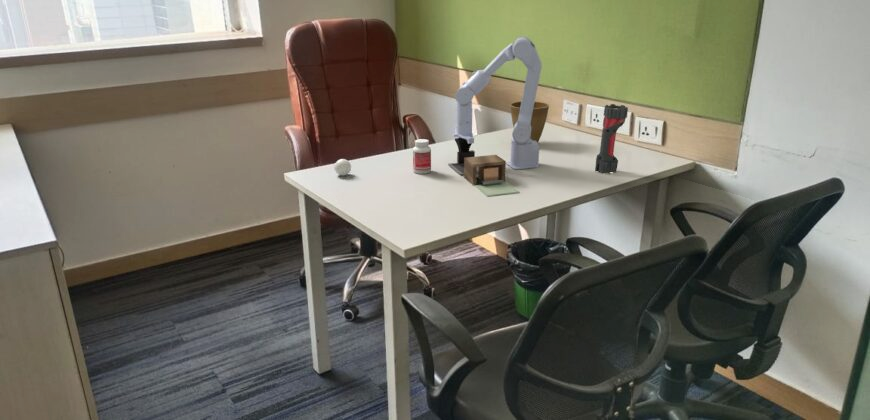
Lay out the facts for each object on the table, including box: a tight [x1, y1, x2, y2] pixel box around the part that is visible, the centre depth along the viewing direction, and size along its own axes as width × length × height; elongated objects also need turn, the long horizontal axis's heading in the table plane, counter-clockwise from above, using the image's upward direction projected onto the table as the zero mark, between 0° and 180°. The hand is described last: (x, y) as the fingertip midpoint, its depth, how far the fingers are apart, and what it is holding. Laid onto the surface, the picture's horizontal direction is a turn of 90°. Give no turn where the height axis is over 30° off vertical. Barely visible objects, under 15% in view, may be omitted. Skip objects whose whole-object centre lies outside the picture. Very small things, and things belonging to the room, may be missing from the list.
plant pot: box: [509, 101, 550, 144], centre depth 253 cm, size 15×15×16 cm
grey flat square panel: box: [447, 162, 464, 177], centre depth 226 cm, size 12×13×1 cm
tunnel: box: [463, 154, 507, 186], centre depth 214 cm, size 11×8×7 cm
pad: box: [474, 181, 520, 197], centre depth 206 cm, size 11×10×1 cm
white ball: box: [334, 158, 352, 177], centre depth 220 cm, size 8×6×6 cm
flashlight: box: [594, 103, 629, 174], centre depth 219 cm, size 8×8×23 cm
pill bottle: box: [412, 138, 432, 175], centre depth 221 cm, size 6×6×11 cm
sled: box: [456, 149, 503, 185], centre depth 219 cm, size 7×26×5 cm, turn 19°
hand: (463, 158), depth 232 cm, fingers closed
